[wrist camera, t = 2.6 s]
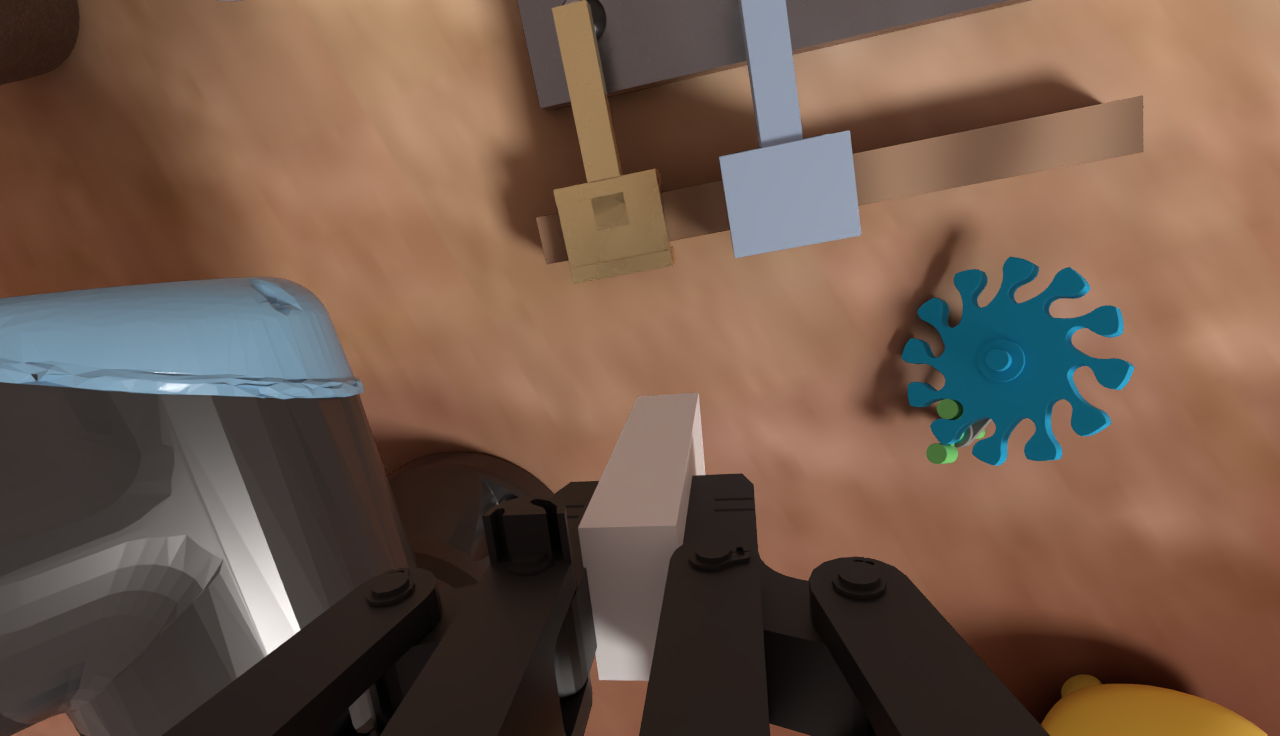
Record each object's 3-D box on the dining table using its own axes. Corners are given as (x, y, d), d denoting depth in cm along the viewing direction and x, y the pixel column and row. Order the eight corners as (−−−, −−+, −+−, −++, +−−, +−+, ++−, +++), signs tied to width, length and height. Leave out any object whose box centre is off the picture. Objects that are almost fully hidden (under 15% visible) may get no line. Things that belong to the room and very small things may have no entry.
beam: (560, 258, 37) (546, 264, 34) (550, 215, 36) (535, 217, 33) (1105, 155, 32) (1143, 152, 29) (1104, 104, 32) (1142, 95, 29)
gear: (981, 216, 32) (1188, 334, 26) (1024, 241, 36) (1213, 349, 30) (849, 392, 37) (998, 528, 30) (900, 397, 41) (1041, 519, 34)
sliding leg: (733, 248, 34) (735, 264, 27) (690, -22, 31) (681, -84, 24) (832, 230, 33) (861, 241, 26) (798, -50, 30) (822, -123, 23)
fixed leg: (583, 277, 35) (573, 283, 33) (529, 19, 32) (512, 4, 30) (675, 260, 34) (672, 266, 32) (628, -6, 31) (620, -23, 29)
